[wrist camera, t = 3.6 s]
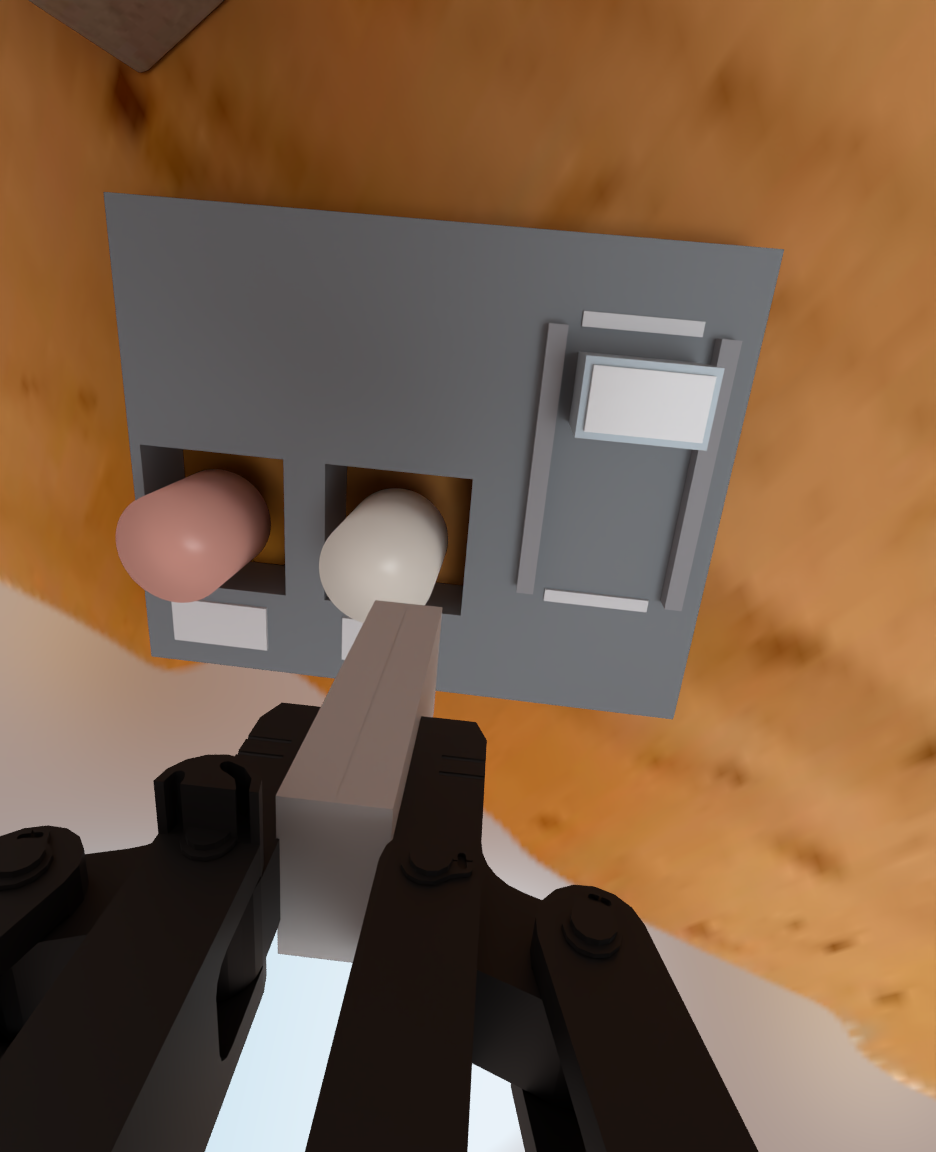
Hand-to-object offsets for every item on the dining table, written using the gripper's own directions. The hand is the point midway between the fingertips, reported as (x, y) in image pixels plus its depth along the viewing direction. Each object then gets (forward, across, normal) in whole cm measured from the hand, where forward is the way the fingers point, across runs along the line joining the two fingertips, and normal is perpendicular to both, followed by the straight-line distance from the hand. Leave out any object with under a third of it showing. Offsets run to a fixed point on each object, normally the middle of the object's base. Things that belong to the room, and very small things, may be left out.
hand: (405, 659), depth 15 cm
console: (+21, -2, 0) cm, 21 cm away
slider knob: (+16, +7, +5) cm, 18 cm away
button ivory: (+18, -3, -3) cm, 18 cm away
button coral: (+18, -12, -3) cm, 22 cm away
